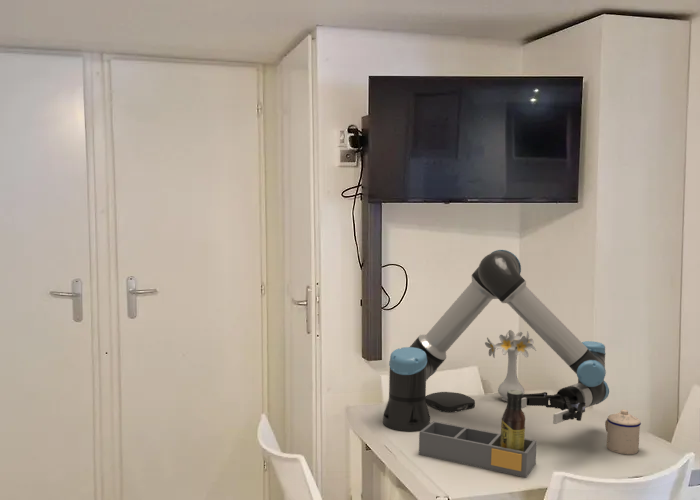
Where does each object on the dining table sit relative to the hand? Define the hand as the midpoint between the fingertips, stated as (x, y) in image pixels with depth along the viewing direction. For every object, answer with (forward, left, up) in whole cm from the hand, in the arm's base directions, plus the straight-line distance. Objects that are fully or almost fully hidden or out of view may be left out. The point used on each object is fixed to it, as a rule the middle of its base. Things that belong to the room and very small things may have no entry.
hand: (532, 412), depth 187 cm
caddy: (-13, -9, -13) cm, 20 cm away
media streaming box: (-36, +34, -14) cm, 52 cm away
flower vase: (-19, +50, -13) cm, 55 cm away
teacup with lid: (+21, +22, -13) cm, 33 cm away
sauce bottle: (-3, -9, -12) cm, 15 cm away
